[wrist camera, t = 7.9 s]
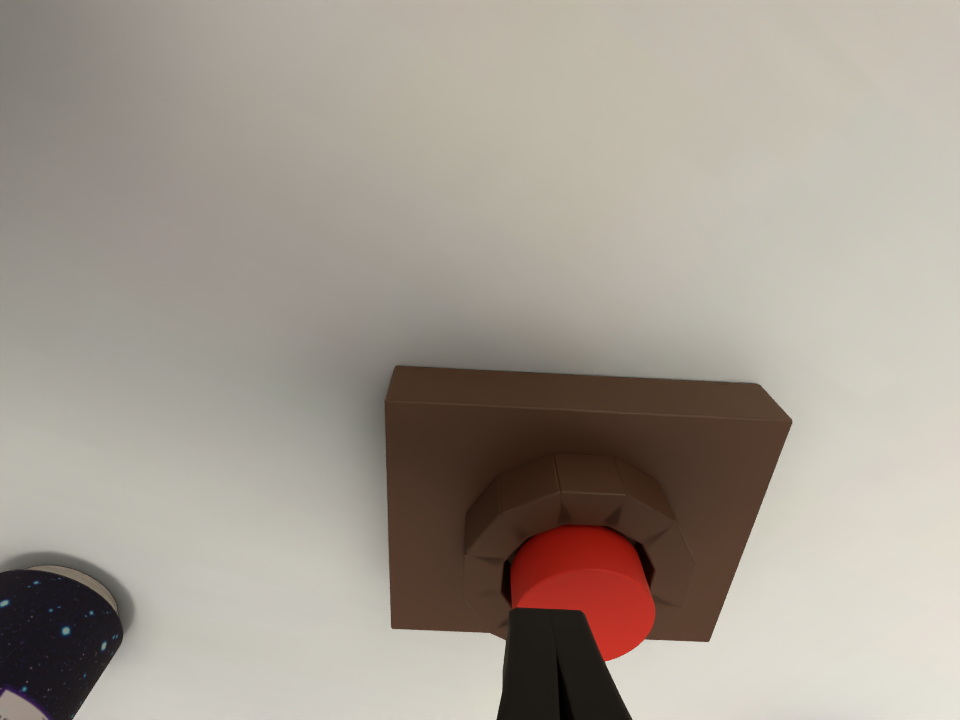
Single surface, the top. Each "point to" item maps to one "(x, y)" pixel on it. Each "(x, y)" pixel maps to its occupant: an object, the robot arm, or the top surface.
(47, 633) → the beverage can
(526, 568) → the button
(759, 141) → the top surface
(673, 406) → the panel
